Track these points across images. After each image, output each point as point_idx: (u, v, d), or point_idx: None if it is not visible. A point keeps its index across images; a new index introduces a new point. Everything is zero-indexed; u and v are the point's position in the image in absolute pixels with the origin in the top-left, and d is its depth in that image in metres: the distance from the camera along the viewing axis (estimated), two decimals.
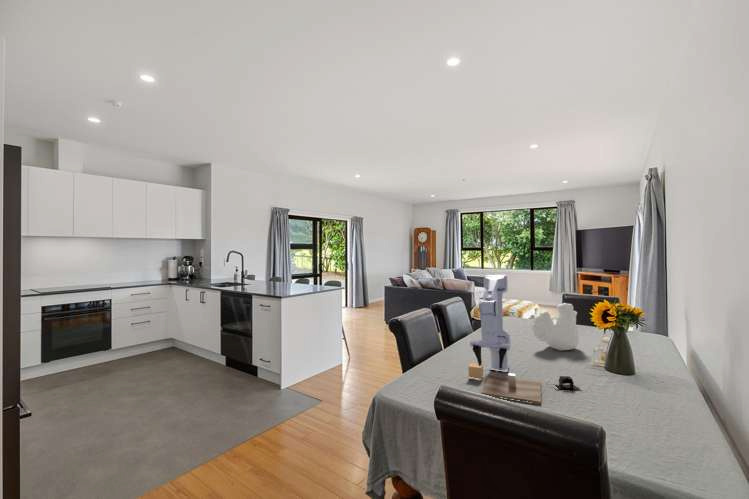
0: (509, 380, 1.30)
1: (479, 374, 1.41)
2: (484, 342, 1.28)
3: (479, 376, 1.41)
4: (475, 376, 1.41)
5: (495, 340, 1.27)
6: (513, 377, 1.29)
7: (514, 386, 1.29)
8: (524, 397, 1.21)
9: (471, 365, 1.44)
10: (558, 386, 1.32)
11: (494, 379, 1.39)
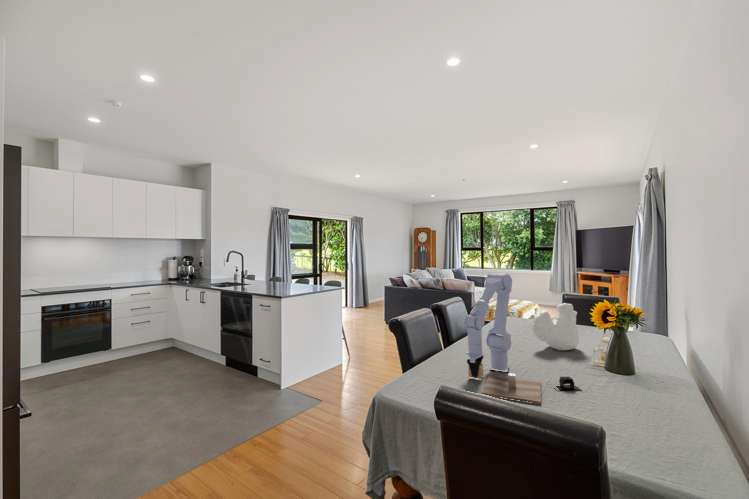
0: (509, 380, 1.30)
1: (479, 374, 1.41)
2: None
3: (479, 376, 1.41)
4: None
5: (470, 351, 1.42)
6: (513, 377, 1.29)
7: (514, 386, 1.29)
8: (524, 397, 1.21)
9: None
10: (559, 387, 1.31)
11: (494, 379, 1.39)
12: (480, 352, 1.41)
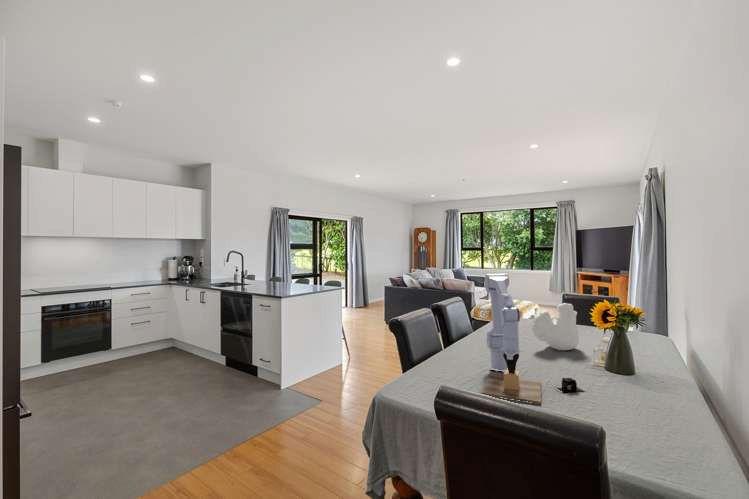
0: None
1: (516, 382, 1.28)
2: None
3: (516, 385, 1.28)
4: (511, 384, 1.28)
5: (506, 346, 1.29)
6: None
7: None
8: (524, 397, 1.21)
9: (506, 372, 1.31)
10: (562, 389, 1.29)
11: (494, 379, 1.39)
12: (517, 348, 1.29)
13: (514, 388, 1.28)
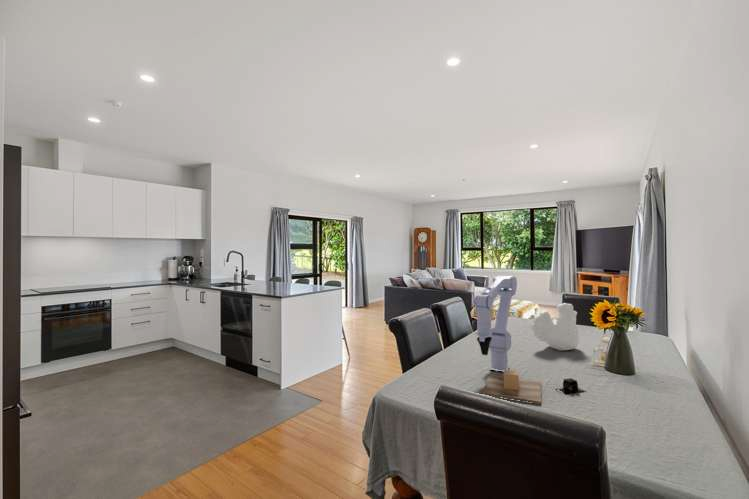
0: None
1: (516, 382, 1.28)
2: None
3: (516, 385, 1.28)
4: (511, 384, 1.28)
5: (480, 330, 1.41)
6: None
7: None
8: (524, 397, 1.21)
9: (506, 372, 1.31)
10: (563, 390, 1.28)
11: (494, 379, 1.39)
12: (489, 332, 1.40)
13: (514, 388, 1.28)
